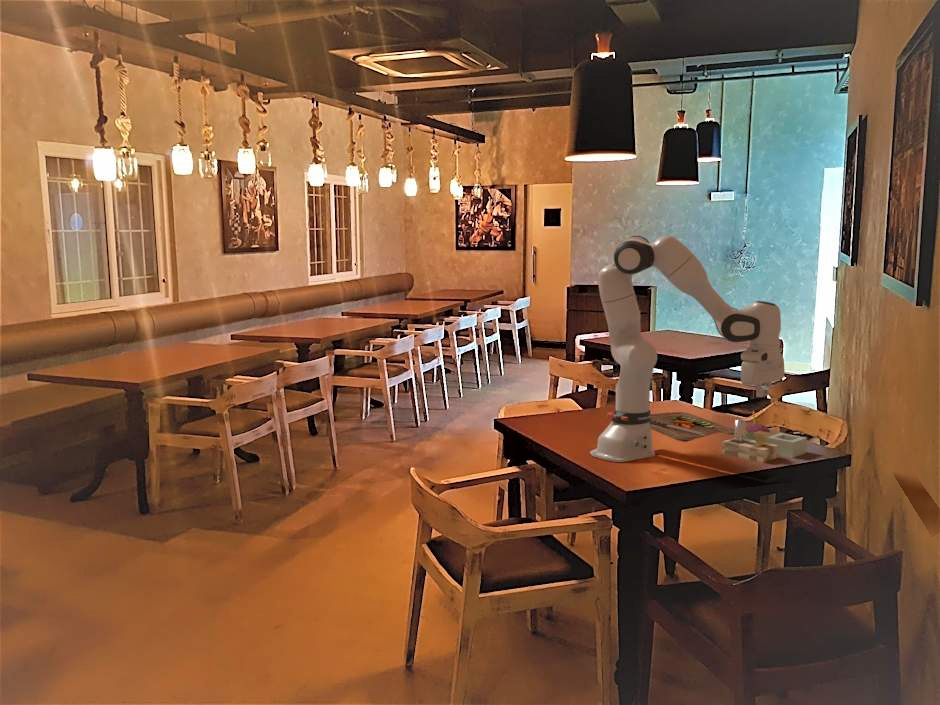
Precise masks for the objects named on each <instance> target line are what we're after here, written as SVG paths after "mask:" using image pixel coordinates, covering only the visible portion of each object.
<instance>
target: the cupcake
mask: <svg viewBox="0 0 940 705" xmlns="http://www.w3.org/2000/svg"><path fill="white" fill-rule="evenodd" d="M752 418H753V420H752V421H753V423H751V424H747V425H745V437H746V439H750V440H755V441H756V437H753V433H754V432H757V431H763V432H768V433H770V434H771V431H770V429H769V428H768V426H766V425H765V424H759V423H756V411H755V409H754V408H753V410H752Z"/></svg>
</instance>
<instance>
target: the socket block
mask: <svg viewBox="0 0 940 705" xmlns="http://www.w3.org/2000/svg"><path fill="white" fill-rule="evenodd" d="M755 443H756V441H755V440H750V439H747V438H745V443H743V444H740V443H736V442H734V437H733V438H732V437H731V438H730V439H727V440H723V441H722V444H721V454H723V455H727V456H729V457H730V456H731V457H736V458H740V459H745V460H749V461H752V462H753V461H754V462H757V463H762V464H763V463H767V462H769V461H772V460H775V459H777V458H778V457H779V455H778V445H775V444H770V443H766V446H764V447H757V446H755Z"/></svg>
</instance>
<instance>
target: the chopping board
mask: <svg viewBox="0 0 940 705" xmlns="http://www.w3.org/2000/svg"><path fill="white" fill-rule="evenodd" d="M650 415H651V417H650V422H649V425H650V428H651V430H652V429H653V430H652V431H654V430H655V432H657V433H660V434H662V435H663V436H664V435H665V436H666V435H667V437H669V438H672V439H673V440H676V441H679V442H683V443H685V442H691V441H694V440H698V439H701V438H703V437H708V436H712V435H715V434H718V433H721V434H726V435H731V436H734V433H735V428H732V427H729V426H726V425H723V424H720V423H717V422H714V421H712V420H710V419H706V418H704V417H703V418H702V417H701V416H697V415H695V414H692V413H688V412H685V411H675V412H674V411H673V412H670V411H668V412H657V413H656V412H655V413H650Z"/></svg>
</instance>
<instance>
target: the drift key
mask: <svg viewBox="0 0 940 705" xmlns="http://www.w3.org/2000/svg"><path fill="white" fill-rule="evenodd" d="M770 436H771V432H770V433H768V432H763V431H757V432H754V433H753V437H756V443H755V446H757V447H764V446H766V440H767V437H770Z"/></svg>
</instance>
